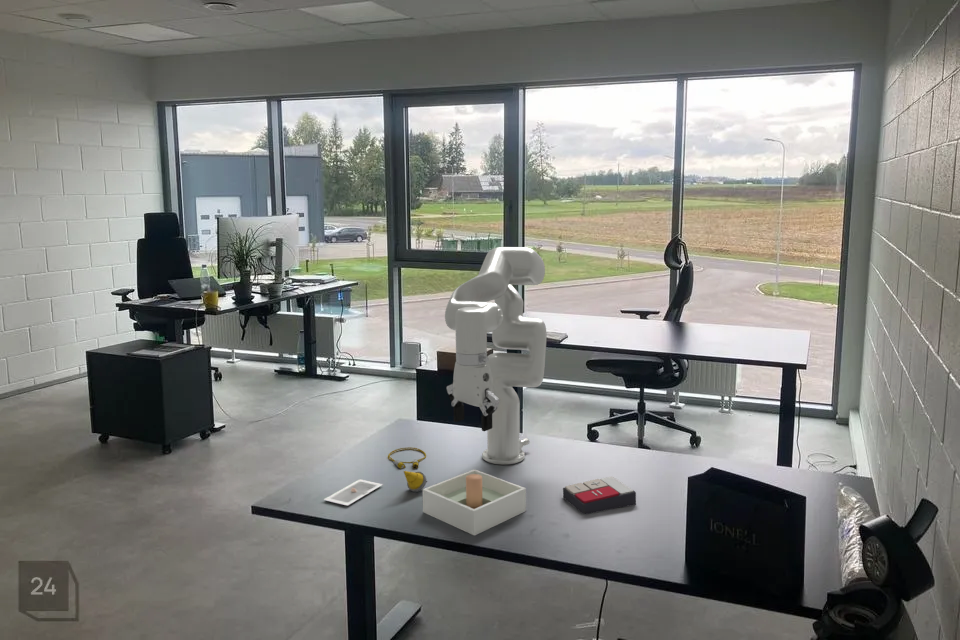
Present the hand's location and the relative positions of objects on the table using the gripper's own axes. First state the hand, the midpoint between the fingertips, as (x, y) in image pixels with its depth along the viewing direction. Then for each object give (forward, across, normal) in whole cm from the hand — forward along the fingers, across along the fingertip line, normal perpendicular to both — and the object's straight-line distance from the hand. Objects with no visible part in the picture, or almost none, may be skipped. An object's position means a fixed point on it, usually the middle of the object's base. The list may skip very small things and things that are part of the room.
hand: (472, 425), depth 182 cm
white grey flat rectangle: (+22, +27, +17) cm, 39 cm away
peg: (+21, -3, +3) cm, 21 cm away
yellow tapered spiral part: (+21, +17, +5) cm, 28 cm away
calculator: (+22, -22, -23) cm, 39 cm away
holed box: (+21, -3, +3) cm, 21 cm away
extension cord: (+22, +37, -9) cm, 44 cm away
